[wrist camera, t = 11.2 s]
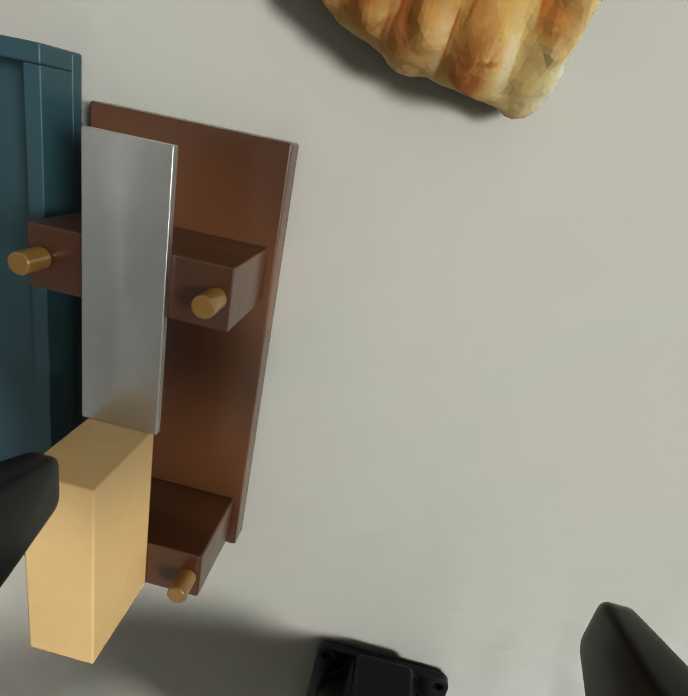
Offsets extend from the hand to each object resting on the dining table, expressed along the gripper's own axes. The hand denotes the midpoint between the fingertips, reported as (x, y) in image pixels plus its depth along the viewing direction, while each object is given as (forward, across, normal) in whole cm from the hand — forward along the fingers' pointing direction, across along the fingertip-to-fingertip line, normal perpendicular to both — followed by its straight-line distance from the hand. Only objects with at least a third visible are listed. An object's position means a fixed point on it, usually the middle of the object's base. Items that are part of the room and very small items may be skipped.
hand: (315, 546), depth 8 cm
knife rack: (+12, +8, +3) cm, 14 cm away
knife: (+8, +8, +3) cm, 11 cm away
